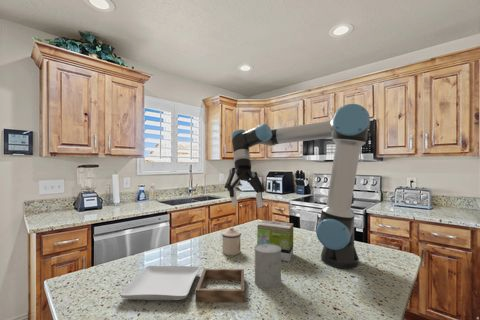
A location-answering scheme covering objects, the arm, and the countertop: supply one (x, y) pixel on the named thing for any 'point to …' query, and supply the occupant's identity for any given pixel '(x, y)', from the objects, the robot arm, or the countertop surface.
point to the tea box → (277, 236)
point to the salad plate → (161, 283)
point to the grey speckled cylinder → (268, 266)
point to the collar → (220, 294)
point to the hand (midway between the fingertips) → (247, 206)
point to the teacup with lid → (231, 242)
